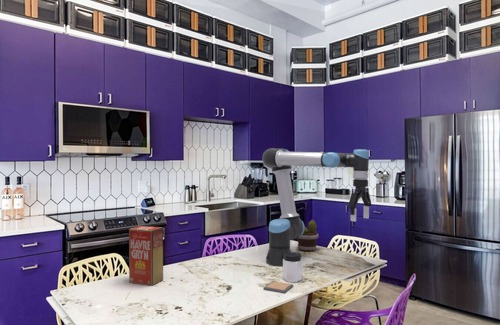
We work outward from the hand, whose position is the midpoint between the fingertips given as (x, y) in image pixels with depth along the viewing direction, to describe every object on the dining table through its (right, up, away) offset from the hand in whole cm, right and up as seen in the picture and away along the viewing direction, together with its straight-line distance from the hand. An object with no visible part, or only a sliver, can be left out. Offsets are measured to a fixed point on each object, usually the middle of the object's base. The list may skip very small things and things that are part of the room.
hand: (359, 219), depth 186 cm
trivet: (-45, -26, -28) cm, 59 cm away
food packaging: (-106, -26, -20) cm, 111 cm away
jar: (-37, -26, -17) cm, 48 cm away
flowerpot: (-21, -26, +42) cm, 53 cm away
